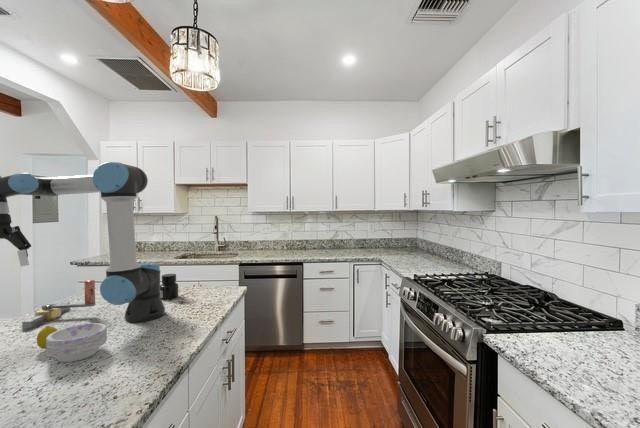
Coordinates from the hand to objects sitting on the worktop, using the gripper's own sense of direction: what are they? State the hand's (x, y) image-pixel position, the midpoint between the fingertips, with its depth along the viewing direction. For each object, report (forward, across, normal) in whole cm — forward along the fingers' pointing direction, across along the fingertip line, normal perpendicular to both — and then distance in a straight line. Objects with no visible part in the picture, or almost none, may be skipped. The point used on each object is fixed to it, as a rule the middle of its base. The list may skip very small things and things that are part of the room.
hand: (7, 268), depth 116 cm
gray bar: (+24, -14, -2) cm, 27 cm away
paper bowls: (+34, +19, +36) cm, 53 cm away
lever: (+21, -15, +7) cm, 27 cm away
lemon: (+30, +16, +23) cm, 41 cm away
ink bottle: (+31, -42, +35) cm, 63 cm away
